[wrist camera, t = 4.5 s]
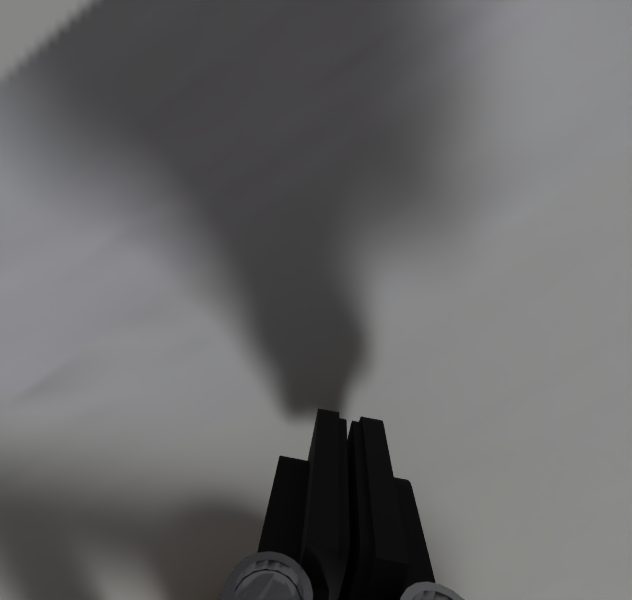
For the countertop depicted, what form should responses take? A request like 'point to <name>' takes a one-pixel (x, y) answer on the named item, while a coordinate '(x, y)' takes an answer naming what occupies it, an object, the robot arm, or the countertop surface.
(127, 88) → the countertop surface
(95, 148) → the countertop surface
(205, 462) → the countertop surface
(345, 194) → the countertop surface
